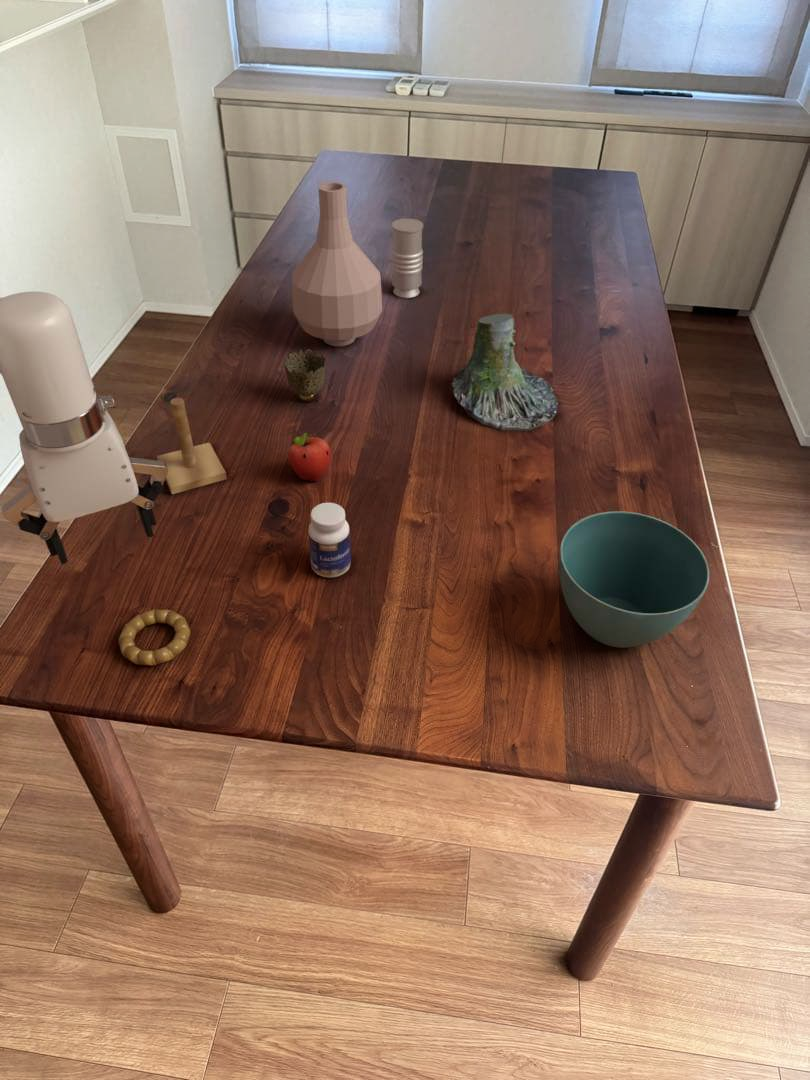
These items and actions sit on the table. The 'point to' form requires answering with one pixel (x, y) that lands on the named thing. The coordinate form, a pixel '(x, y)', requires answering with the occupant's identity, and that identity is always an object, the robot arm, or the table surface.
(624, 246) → the table surface
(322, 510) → the pill bottle
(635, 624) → the teal bowl
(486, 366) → the tree stump
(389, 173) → the table surface
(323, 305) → the vase
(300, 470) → the apple
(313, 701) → the table surface
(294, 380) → the cup
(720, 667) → the table surface
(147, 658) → the ring
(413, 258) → the ribbed beige cylinder
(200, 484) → the post stand
